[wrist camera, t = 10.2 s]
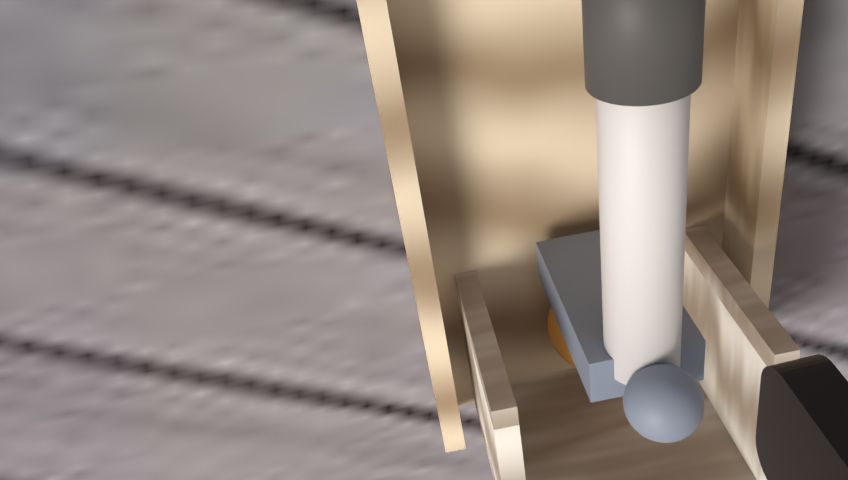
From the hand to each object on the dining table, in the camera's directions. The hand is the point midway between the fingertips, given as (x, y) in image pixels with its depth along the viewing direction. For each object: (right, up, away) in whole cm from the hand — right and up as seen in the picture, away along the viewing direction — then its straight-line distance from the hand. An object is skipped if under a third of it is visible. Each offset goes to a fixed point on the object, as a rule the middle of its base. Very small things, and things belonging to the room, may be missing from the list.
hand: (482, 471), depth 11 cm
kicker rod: (+5, +9, +22) cm, 24 cm away
